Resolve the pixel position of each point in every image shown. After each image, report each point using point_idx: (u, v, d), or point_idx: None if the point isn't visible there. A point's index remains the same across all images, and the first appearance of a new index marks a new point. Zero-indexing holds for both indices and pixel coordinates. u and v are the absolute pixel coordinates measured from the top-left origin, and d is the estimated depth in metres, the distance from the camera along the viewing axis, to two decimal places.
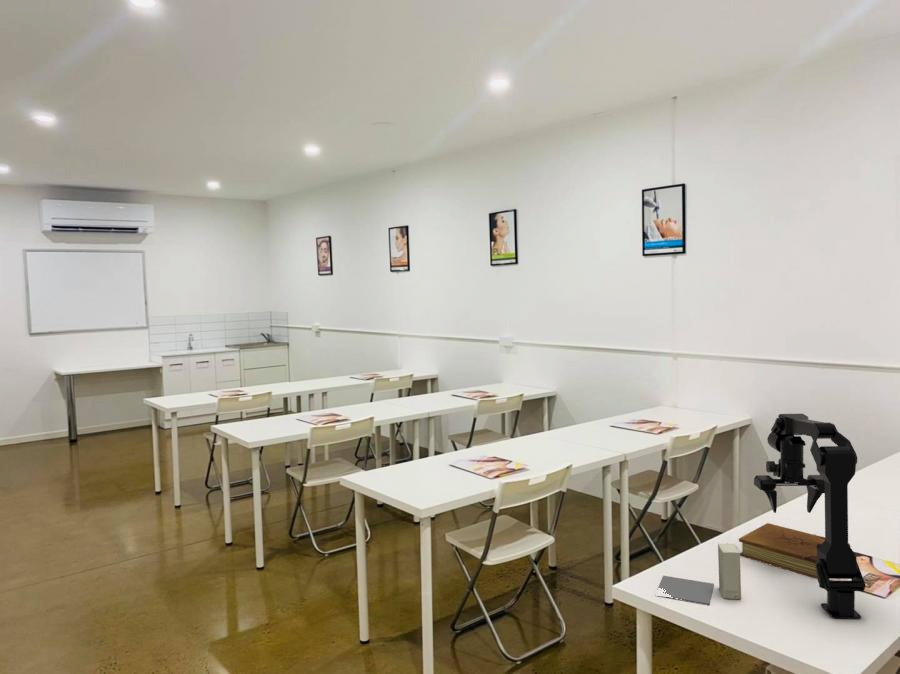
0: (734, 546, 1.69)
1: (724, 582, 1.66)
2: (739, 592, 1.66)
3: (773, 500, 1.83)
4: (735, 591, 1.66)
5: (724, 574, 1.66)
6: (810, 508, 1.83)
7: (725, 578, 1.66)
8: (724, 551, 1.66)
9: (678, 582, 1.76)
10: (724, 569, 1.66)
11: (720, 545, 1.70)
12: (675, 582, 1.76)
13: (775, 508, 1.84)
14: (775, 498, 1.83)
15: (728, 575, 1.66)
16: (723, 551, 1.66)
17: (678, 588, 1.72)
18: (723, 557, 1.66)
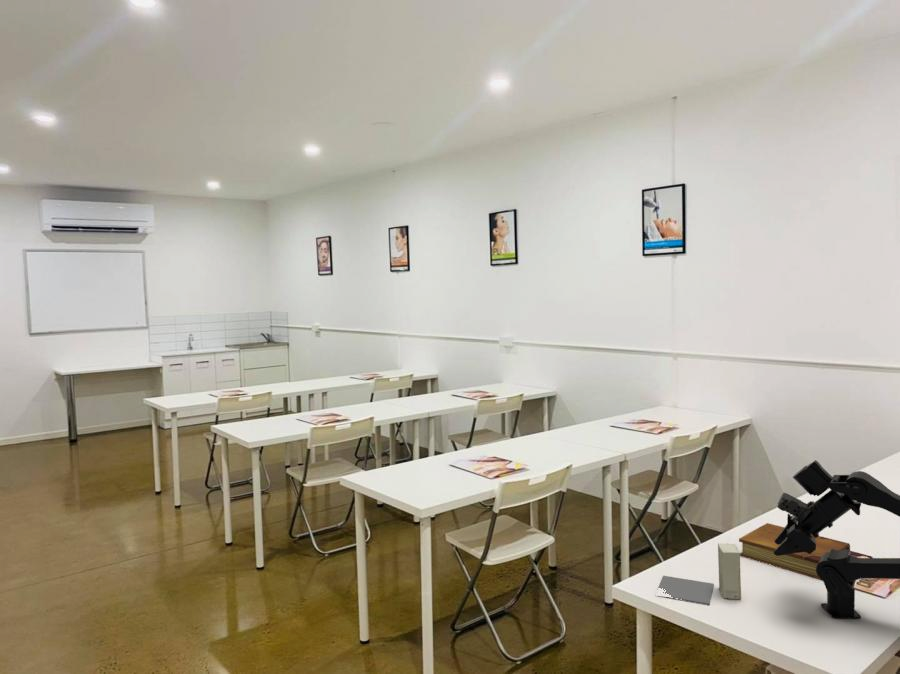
0: (734, 546, 1.69)
1: (724, 582, 1.66)
2: (739, 592, 1.66)
3: None
4: (735, 591, 1.66)
5: (724, 574, 1.66)
6: None
7: (725, 578, 1.66)
8: (724, 551, 1.66)
9: (678, 582, 1.76)
10: (724, 569, 1.66)
11: (720, 545, 1.70)
12: (675, 582, 1.76)
13: None
14: None
15: (728, 575, 1.66)
16: (723, 551, 1.66)
17: (678, 588, 1.72)
18: (723, 557, 1.66)
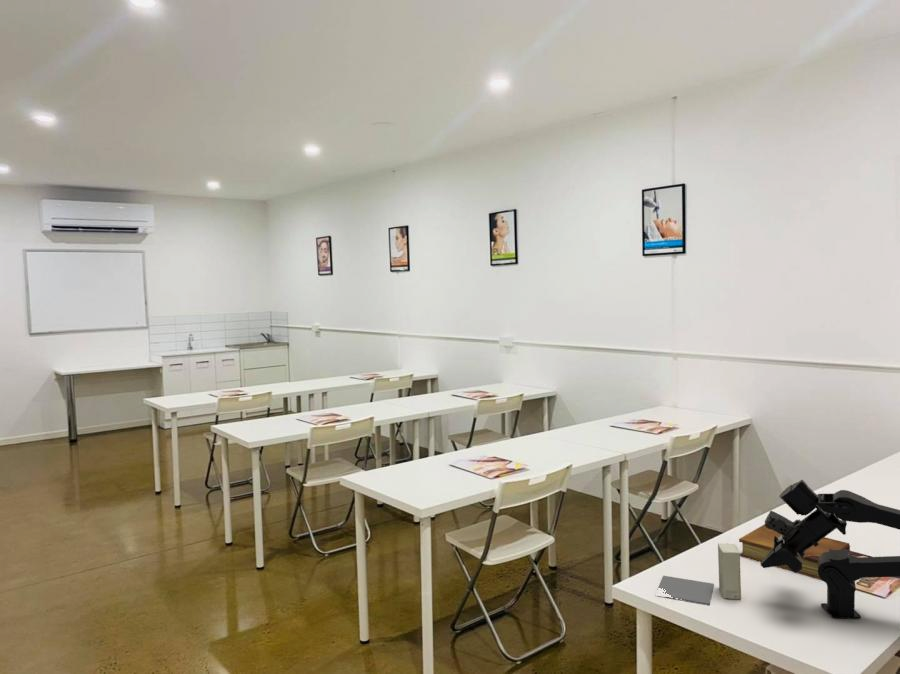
0: (734, 546, 1.69)
1: (724, 582, 1.66)
2: (739, 592, 1.66)
3: None
4: (735, 591, 1.66)
5: (724, 574, 1.66)
6: None
7: (725, 578, 1.66)
8: (724, 551, 1.66)
9: (678, 582, 1.76)
10: (724, 569, 1.66)
11: (720, 545, 1.70)
12: (675, 582, 1.76)
13: None
14: None
15: (728, 575, 1.66)
16: (723, 551, 1.66)
17: (678, 588, 1.72)
18: (723, 557, 1.66)
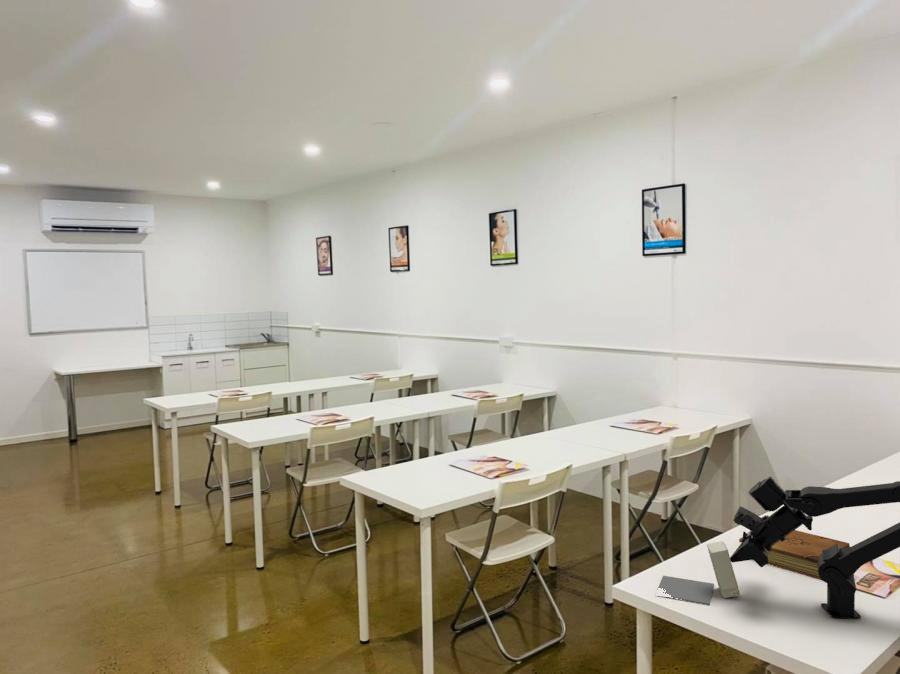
0: (722, 544, 1.70)
1: (720, 582, 1.66)
2: (737, 589, 1.66)
3: None
4: (732, 588, 1.66)
5: (718, 574, 1.66)
6: None
7: (720, 578, 1.66)
8: (713, 552, 1.67)
9: (678, 582, 1.76)
10: (716, 569, 1.66)
11: (709, 545, 1.71)
12: (675, 582, 1.76)
13: None
14: None
15: (722, 574, 1.66)
16: (711, 551, 1.67)
17: (678, 588, 1.72)
18: (713, 557, 1.67)
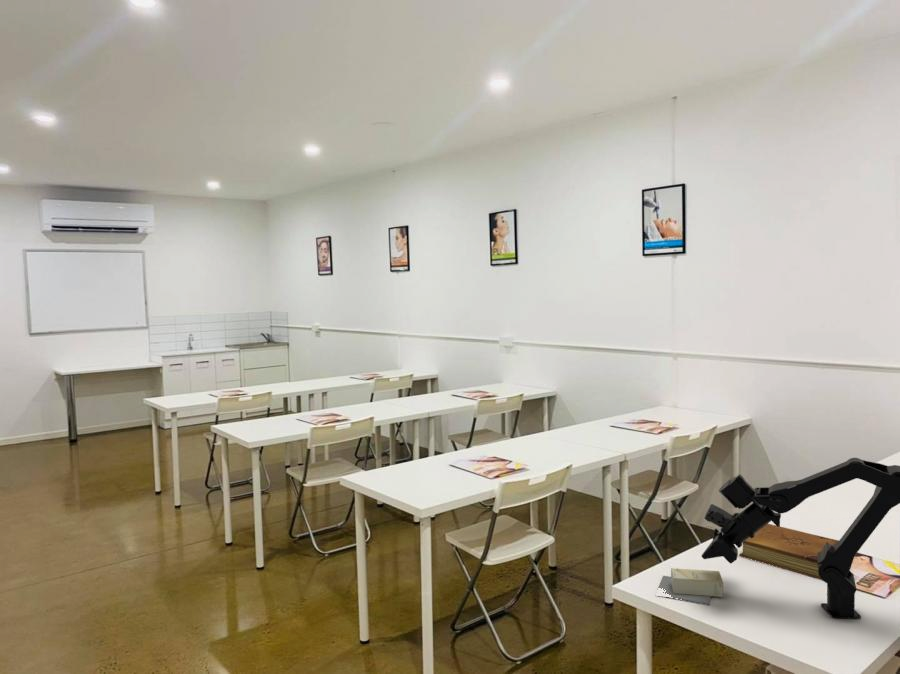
0: (671, 572, 1.73)
1: (705, 594, 1.67)
2: (715, 582, 1.67)
3: None
4: (714, 585, 1.67)
5: (697, 594, 1.68)
6: None
7: (701, 593, 1.68)
8: (673, 590, 1.70)
9: None
10: (691, 593, 1.68)
11: (671, 584, 1.74)
12: None
13: None
14: None
15: (697, 590, 1.68)
16: (673, 591, 1.70)
17: None
18: (679, 593, 1.69)
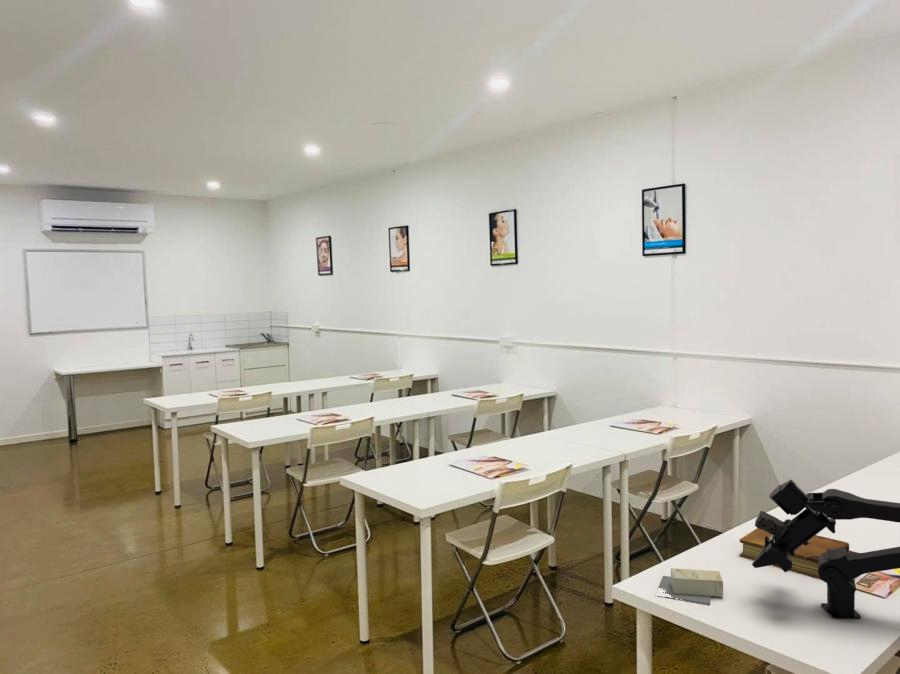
0: (671, 572, 1.73)
1: (705, 594, 1.67)
2: (715, 582, 1.67)
3: None
4: (714, 585, 1.67)
5: (697, 594, 1.68)
6: None
7: (701, 593, 1.68)
8: (673, 590, 1.70)
9: None
10: (691, 593, 1.68)
11: (671, 584, 1.74)
12: None
13: None
14: None
15: (697, 590, 1.68)
16: (673, 591, 1.70)
17: None
18: (679, 593, 1.69)
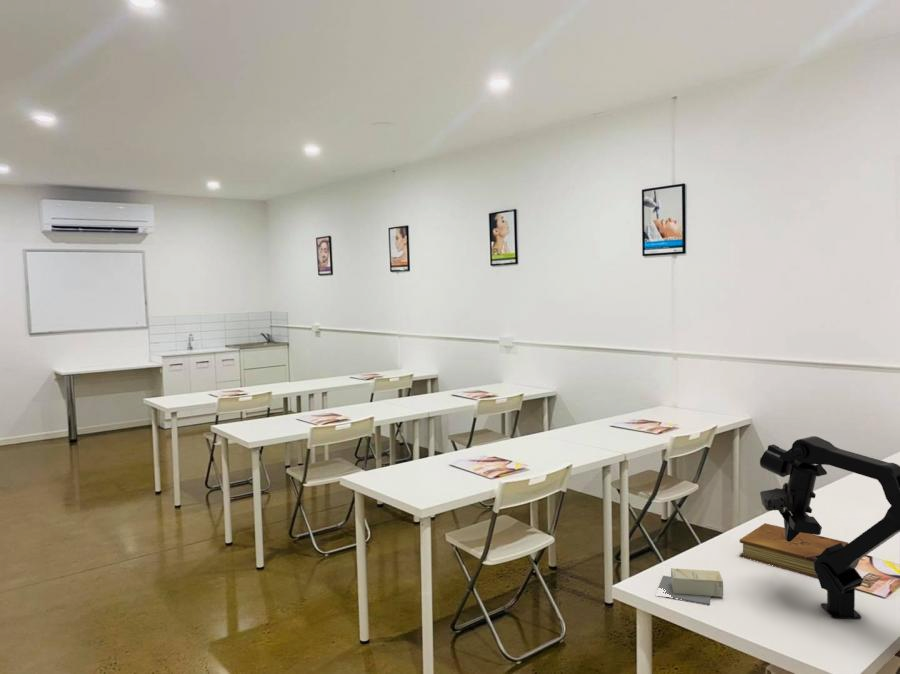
0: (671, 572, 1.73)
1: (705, 594, 1.67)
2: (715, 582, 1.67)
3: None
4: (714, 585, 1.67)
5: (697, 594, 1.68)
6: None
7: (701, 593, 1.68)
8: (673, 590, 1.70)
9: None
10: (691, 593, 1.68)
11: (671, 584, 1.74)
12: None
13: None
14: None
15: (697, 590, 1.68)
16: (673, 591, 1.70)
17: None
18: (679, 593, 1.69)
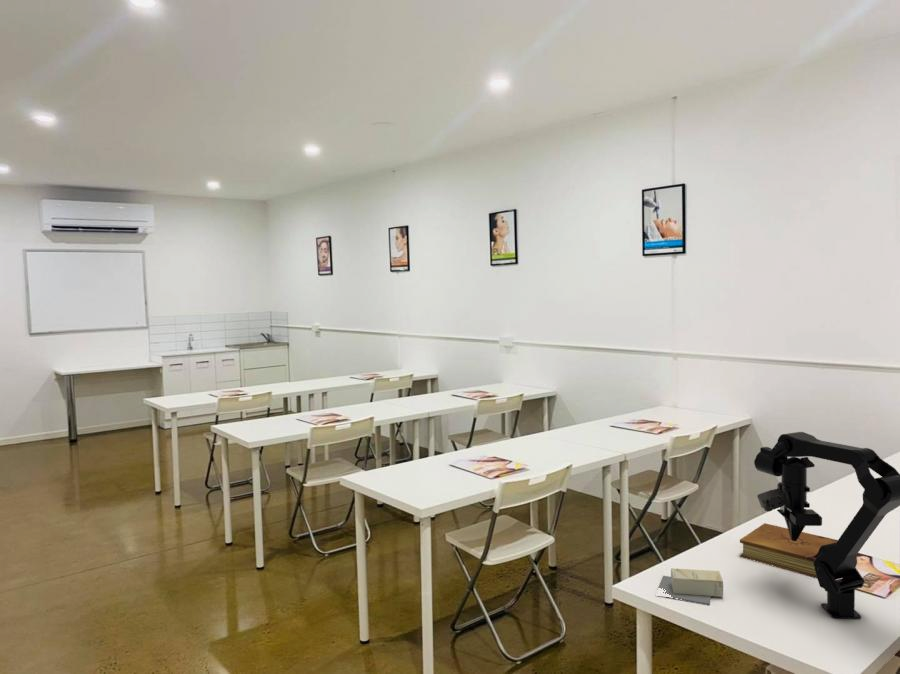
0: (671, 572, 1.73)
1: (705, 594, 1.67)
2: (715, 582, 1.67)
3: None
4: (714, 585, 1.67)
5: (697, 594, 1.68)
6: None
7: (701, 593, 1.68)
8: (673, 590, 1.70)
9: None
10: (691, 593, 1.68)
11: (671, 584, 1.74)
12: None
13: None
14: None
15: (697, 590, 1.68)
16: (673, 591, 1.70)
17: None
18: (679, 593, 1.69)
